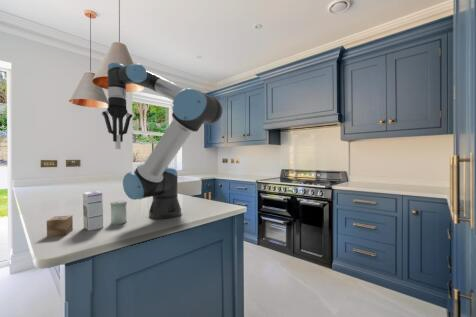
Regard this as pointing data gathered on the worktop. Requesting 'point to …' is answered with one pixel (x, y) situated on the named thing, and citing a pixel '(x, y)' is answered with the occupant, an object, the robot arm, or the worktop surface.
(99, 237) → the worktop surface
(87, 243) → the worktop surface
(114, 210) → the sage jar
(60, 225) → the cardboard box
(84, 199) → the syrup box
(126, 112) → the robot arm
